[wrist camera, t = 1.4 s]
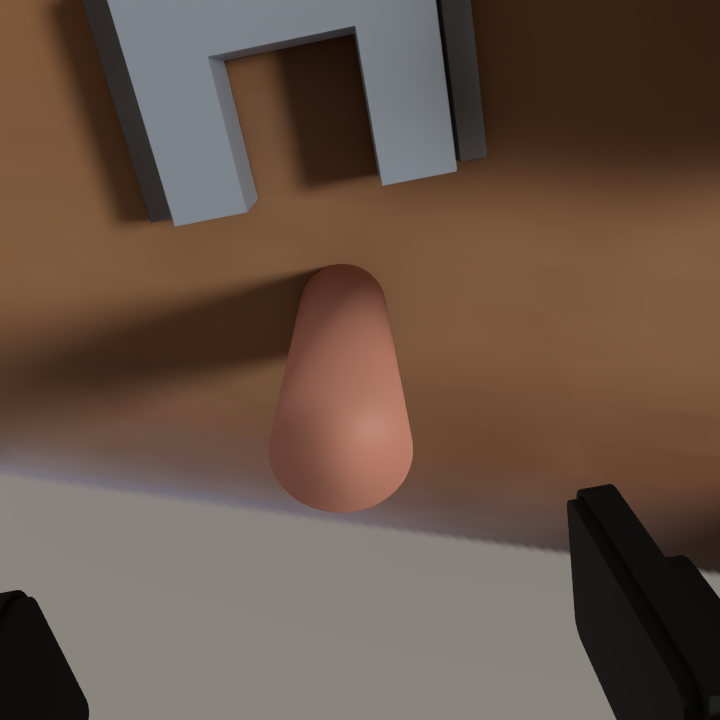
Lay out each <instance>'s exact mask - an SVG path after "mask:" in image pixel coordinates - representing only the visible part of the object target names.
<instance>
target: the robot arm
mask: <svg viewBox="0 0 720 720" xmlns="http://www.w3.org/2000/svg"><path fill="white" fill-rule="evenodd" d="M567 513H568V527H569V541H570V555H571V568H572V581H573V596H574V610H575V621H576V625H577V630H578V633H579V636H580V639H581V641H582V644H583V646H584V648H585V650H586V653H587V655H588V657H589V659H590V662H591V664H592V666H593V668H594V671H595V673H596V675H597V677H598V679H599V682H600V684H601V686H602V688H603V691H604V693H605V695H606V697H607V699H608V702H609V704H610V706H611V708H612V710H613V713H614V715H615V717H616V719H617V720H720V598H719V597H718V596H717V594H716V593H715V592H714V591H713V589H712V588H711V586H710V585H709V584H708V582H707V581H706V580H705V579H704V577H703V576H702V575H701V573H700V572H699V571H698V569H697V568H696V567H695V565H694V564H693V563H692V562H691V561H690V560H689V559H688V558H687V557H685V556H683V555H679V556H673V557H667V558H665V556H664V555H663V553H662V552H661V551H660V549H659V548H658V546H657V545H656V544H655V542H654V541H653V539H652V538H651V537H650V535H649V534H648V532H647V531H646V529H645V528H644V527H643V525H642V524H641V522H640V521H639V520H638V518H637V517H636V515H635V514H634V513H633V511H632V510H631V508H630V507H629V506H628V504H627V503H626V501H625V500H624V498H623V497H622V496H621V494H620V493H619V491H618V490H617V489H616V487H615V486H614V485H612V484H608V485H602V486H596V487H591V488H585V489H580V490H578V491H577V499H574V500H569V501H568V502H567ZM88 719H89V708H88V703H87V700H86V698H85V696H84V694H83V692H82V690H81V688H80V686H79V684H78V682H77V681H76V678H75V676H74V674H73V672H72V671H71V669H70V667H69V664H68V663H67V660H66V658H65V656H64V654H63V653H62V651H61V649H60V647H59V645H58V643H57V641H56V639H55V637H54V635H53V633H52V631H51V629H50V627H49V625H48V623H47V621H46V619H45V617H44V615H43V613H42V611H41V609H40V607H39V605H38V603H37V601H36V600H35V599H34V598H33V597H27V595H26V594H25V593H24V592H22V591H21V590H15V591H10V592H4V593H0V720H88Z"/></svg>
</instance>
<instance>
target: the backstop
mask: <svg viewBox="0 0 720 720" xmlns="http://www.w3.org/2000/svg"><path fill="white" fill-rule="evenodd" d="M82 3H83V7H84V10H85V13H86V16H87V19H88V23H89V26H90V29H91V32H92V35H93V39H94V42H95V45H96V48H97V51H98V55H99V58H100V61H101V64H102V67H103V71H104V74H105V77H106V80H107V83H108V87H109V90H110V93H111V96H112V99H113V103H114V106H115V109H116V112H117V115H118V118H119V122H120V125H121V128H122V131H123V134H124V138H125V141H126V144H127V147H128V150H129V154H130V157H131V160H132V163H133V166H134V170H135V173H136V176H137V179H138V182H139V186H140V189H141V192H142V195H143V198H144V202H145V205H146V208H147V211H148V214H149V217H150V221H151V223H153V222H158V221H163V220H168V219H173V218H172V215H171V212H170V208H169V205H168V202H167V198H166V195H165V192H164V188H163V185H162V182H161V178H160V175H159V172H158V168H157V165H156V162H155V158H154V155H153V152H152V148H151V145H150V142H149V138H148V135H147V132H146V128H145V125H144V122H143V118H142V115H141V112H140V108H139V105H138V102H137V98H136V95H135V92H134V88H133V85H132V81H131V78H130V75H129V71H128V68H127V65H126V61H125V58H124V55H123V51H122V48H121V45H120V41H119V38H118V35H117V31H116V28H115V25H114V21H113V18H112V15H111V11H110V8H109V5H108V1H107V0H82ZM437 6H438V14H439V22H440V30H441V38H442V46H443V54H444V62H445V70H446V78H447V86H448V94H449V102H450V110H451V118H452V126H453V134H454V142H455V150H456V158H457V160H459V161H460V162H463V161H468V160H473V159H478V158H483V157H487V148H486V138H485V129H484V120H483V110H482V101H481V91H480V82H479V73H478V63H477V54H476V44H475V35H474V26H473V16H472V7H471V0H437Z"/></svg>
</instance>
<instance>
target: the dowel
mask: <svg viewBox="0 0 720 720" xmlns="http://www.w3.org/2000/svg"><path fill="white" fill-rule="evenodd" d="M269 457H270V462H271V466H272V469H273V472H274V474H275V476H276V478H277V480H278V481H279V482H280V484H281V485H282V487H283V488H284V489H285V490H286V491H287V492H288V493H289V494H290V495H292V496H293V497H294V498H295V499H297V500H299V501H300V502H302V503H304V504H306V505H308V506H310V507H313V508H316V509H319V510H323V511H328V512H354V511H359V510H363V509H366V508H369V507H372V506H374V505H376V504H378V503H380V502H382V501H383V500H385V499H386V498H388V497H389V496H390V495H391V494H393V493H394V492H395V491H396V490H397V489H398V488H399V486H400V485H401V484H402V482H403V481H404V479H405V478H406V476H407V474H408V472H409V469H410V466H411V462H412V457H413V444H412V437H411V432H410V427H409V421H408V416H407V411H406V406H405V401H404V395H403V390H402V385H401V380H400V375H399V369H398V364H397V359H396V354H395V349H394V344H393V338H392V333H391V328H390V323H389V318H388V312H387V307H386V302H385V297H384V293H383V291H382V288H381V286H380V285H379V283H378V282H377V280H376V279H375V278H374V277H373V276H372V275H371V274H370V273H368V272H367V271H365V270H364V269H362V268H359V267H357V266H353V265H348V264H338V265H332V266H328V267H326V268H323V269H322V270H320V271H318V272H317V273H316V274H314V275H313V276H312V277H311V278H310V279H309V281H308V282H307V283H306V285H305V287H304V289H303V292H302V295H301V299H300V304H299V308H298V313H297V318H296V322H295V327H294V331H293V336H292V341H291V345H290V350H289V354H288V359H287V364H286V368H285V373H284V378H283V382H282V387H281V391H280V396H279V401H278V405H277V410H276V414H275V419H274V424H273V428H272V433H271V437H270V444H269Z"/></svg>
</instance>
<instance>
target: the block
mask: <svg viewBox="0 0 720 720" xmlns="http://www.w3.org/2000/svg"><path fill="white" fill-rule="evenodd" d="M107 1H108V5H109V8H110V11H111V15H112V18H113V21H114V25H115V28H116V31H117V35H118V38H119V41H120V45H121V48H122V51H123V55H124V58H125V61H126V65H127V68H128V71H129V75H130V78H131V81H132V85H133V88H134V92H135V95H136V98H137V102H138V105H139V108H140V112H141V115H142V118H143V122H144V125H145V128H146V132H147V135H148V138H149V142H150V145H151V148H152V152H153V155H154V158H155V162H156V165H157V168H158V172H159V175H160V178H161V182H162V185H163V188H164V192H165V195H166V198H167V202H168V205H169V208H170V212H171V215H172V218H173V222H174V225H175V226H180V225H185V224H190V223H195V222H200V221H205V220H210V219H215V218H221V217H226V216H231V215H236V214H241V213H246V212H248V211H249V209H250V208H251V207H252V206H253V204H254V203H255V202H256V201H257V200H258V198H257V194H256V190H255V185H254V181H253V177H252V173H251V169H250V165H249V161H248V157H247V153H246V149H245V145H244V141H243V137H242V132H241V128H240V124H239V120H238V116H237V112H236V108H235V104H234V100H233V96H232V92H231V88H230V84H229V80H228V75H227V71H226V67H225V63H224V61H226V60H231V59H236V58H241V57H245V56H250V55H255V54H260V53H264V52H269V51H274V50H279V49H284V48H288V47H293V46H298V45H303V44H308V43H312V42H317V41H322V40H327V39H331V38H336V37H341V36H346V35H351V34H354V36H355V42H356V48H357V54H358V60H359V66H360V71H361V77H362V83H363V89H364V95H365V101H366V106H367V112H368V118H369V124H370V130H371V136H372V141H373V147H374V153H375V159H376V165H377V171H378V176H379V178H380V181H381V183H382V186H384V185H389V184H394V183H399V182H404V181H409V180H415V179H420V178H425V177H430V176H435V175H440V174H445V173H450V172H455V171H457V166H456V158H455V150H454V142H453V134H452V126H451V118H450V110H449V102H448V94H447V86H446V78H445V70H444V62H443V54H442V46H441V38H440V30H439V22H438V14H437V6H436V0H107Z"/></svg>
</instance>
